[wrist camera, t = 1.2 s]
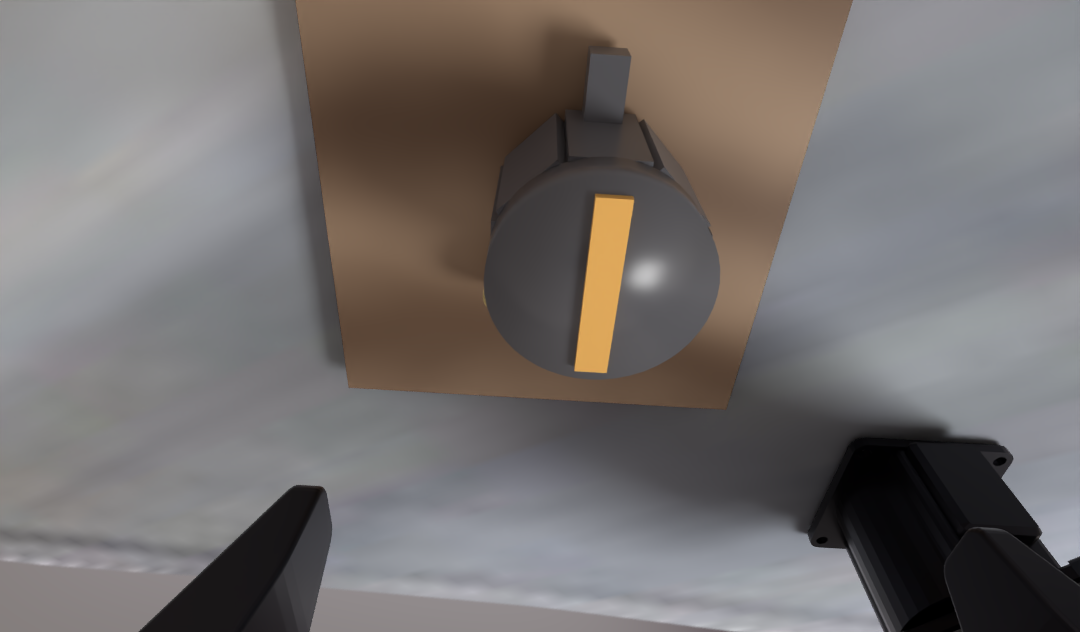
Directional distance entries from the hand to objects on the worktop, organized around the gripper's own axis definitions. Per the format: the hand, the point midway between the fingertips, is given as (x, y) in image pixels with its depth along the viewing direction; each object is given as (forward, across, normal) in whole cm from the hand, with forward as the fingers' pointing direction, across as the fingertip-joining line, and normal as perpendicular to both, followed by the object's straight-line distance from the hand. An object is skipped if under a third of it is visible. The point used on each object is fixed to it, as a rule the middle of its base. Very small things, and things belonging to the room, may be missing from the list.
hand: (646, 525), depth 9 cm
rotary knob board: (+13, +1, -1) cm, 13 cm away
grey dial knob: (+11, 0, -1) cm, 12 cm away
